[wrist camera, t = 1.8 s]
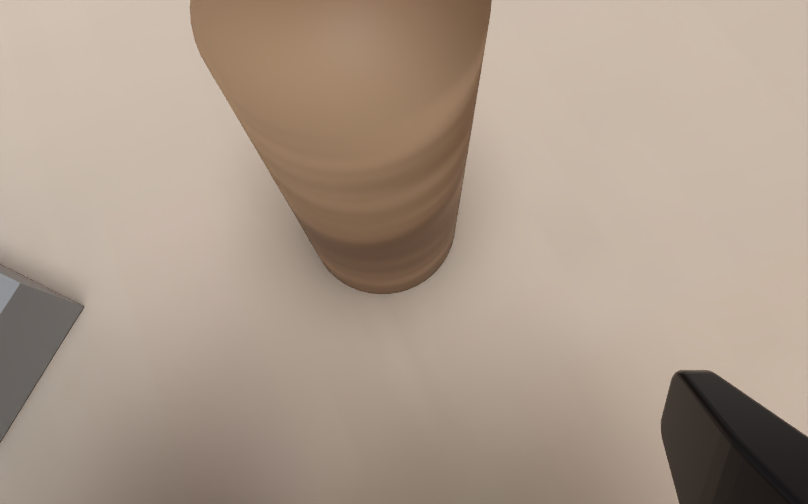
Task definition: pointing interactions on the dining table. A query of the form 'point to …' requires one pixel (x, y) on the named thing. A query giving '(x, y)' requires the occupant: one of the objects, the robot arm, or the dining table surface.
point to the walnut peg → (356, 119)
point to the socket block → (27, 337)
